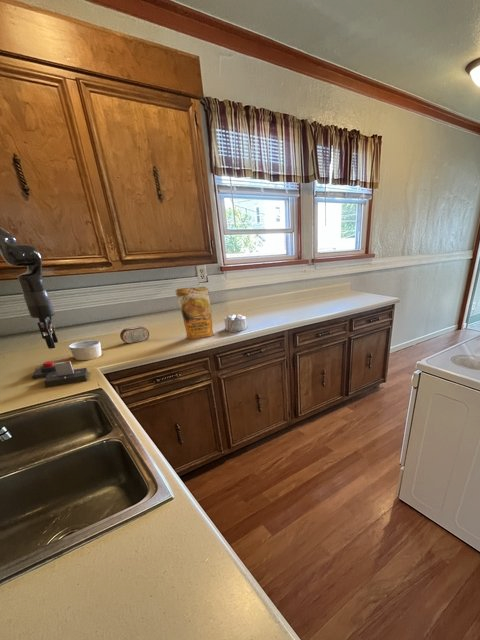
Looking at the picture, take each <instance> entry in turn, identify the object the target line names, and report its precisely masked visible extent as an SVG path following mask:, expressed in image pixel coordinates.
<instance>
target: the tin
mask: <svg viewBox="0 0 480 640" xmlns="http://www.w3.org/2000/svg"><path fill="white" fill-rule="evenodd" d="M119 336H120V340H121V341H122V342H123V343H125V344H133V343H138V342H143V341H147V340H148V339H149V338H150V331H149V330H148V328H146V327H145V326H142V325H138V326H132V327H126V328H123V329H122V330H121V332H120V334H119Z"/></svg>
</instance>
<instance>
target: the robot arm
mask: <svg viewBox="0 0 480 640" xmlns="http://www.w3.org/2000/svg"><path fill="white" fill-rule="evenodd" d="M0 256H1V258H2V259H3V260H4V261H5V262H6V264H8V265H10V266H12V267H16V268H17V267H27V268H26V272H23V273H20V274H19V275H17V281H18V283H19V287H20V290H21V292H22V296H23V299H24V302H25V304H26V305H25V306H26V307H27V310H28V313H29V315H30V317H31V318H33V319H38V322H37V326H38V329H39V332H40V335H41V338H42V339H43V340H44V341H45V343H46V346H47V348H48V349H49V350H51V349H55V348H56V345H55V344H57V343H59V340H58V337H57V333H56V331H57V328H56V326H55V323H54V320H53V317H54V316H55V315H56V313H55V310H54V307H53V304H52V300H51V297H50V296H49V293H48V292H47V289H46V285H45V283H44V280H43V266H42V265H43V264H42V262H43V261H42V255H41V253H40V251H39V249H37V248H36V247H35V246H34V245H32V244H28V243H26V244H25V243H19V244H18V241H17V238H15V236H13V235H12V234H11V233H10V232H9V231H7V230H6V229H4V228H3V227H2V226H0Z"/></svg>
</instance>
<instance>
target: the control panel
mask: <svg viewBox="0 0 480 640" xmlns="http://www.w3.org/2000/svg"><path fill="white" fill-rule="evenodd" d="M73 370H74V374H68V375H62V376H58V375H57V372H53V373H48V374H47V376H46V378H44V381H43V383H44V385H45V389H46V388H53V387H59V386H65V385H71V384H78V383H83V382H87V381H88V377H89V370H88V368H87V367H80V368H73Z"/></svg>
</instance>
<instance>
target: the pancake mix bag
mask: <svg viewBox="0 0 480 640" xmlns="http://www.w3.org/2000/svg"><path fill="white" fill-rule="evenodd" d="M175 295H176V300H177V302H178V306H179V311H180V313H181V316H182V319H183V324H184V327H185V331H186V337H185V339H190V340H192V339H199V338H210V337H212V336H215V334H214V330H213V329H214V327H213V314H212V303H211V297H210V292H209V288H207V287H206V286H197V287H182V288H176V289H175Z"/></svg>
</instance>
